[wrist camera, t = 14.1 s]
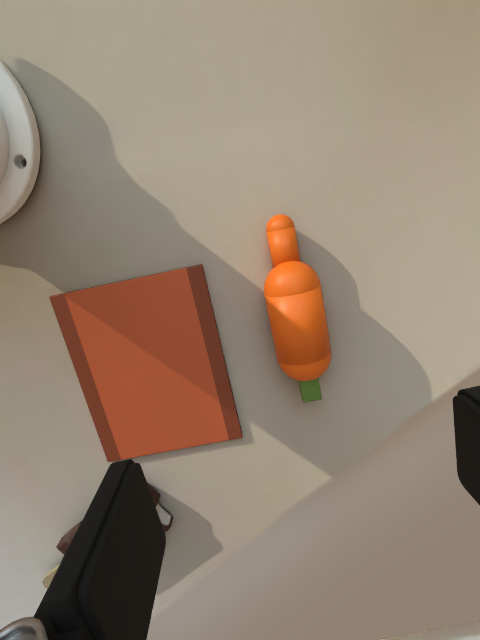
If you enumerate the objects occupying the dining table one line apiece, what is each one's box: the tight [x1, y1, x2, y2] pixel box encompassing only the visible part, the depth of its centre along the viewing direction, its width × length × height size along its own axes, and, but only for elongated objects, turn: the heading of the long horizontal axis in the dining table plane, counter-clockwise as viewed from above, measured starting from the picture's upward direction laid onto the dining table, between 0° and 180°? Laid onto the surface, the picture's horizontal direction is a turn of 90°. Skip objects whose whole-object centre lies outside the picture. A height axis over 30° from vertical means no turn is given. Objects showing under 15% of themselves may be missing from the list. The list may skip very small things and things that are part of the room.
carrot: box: [264, 215, 331, 402], centre depth 25 cm, size 14×4×4 cm, turn 12°
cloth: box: [50, 264, 242, 462], centre depth 29 cm, size 15×12×1 cm
